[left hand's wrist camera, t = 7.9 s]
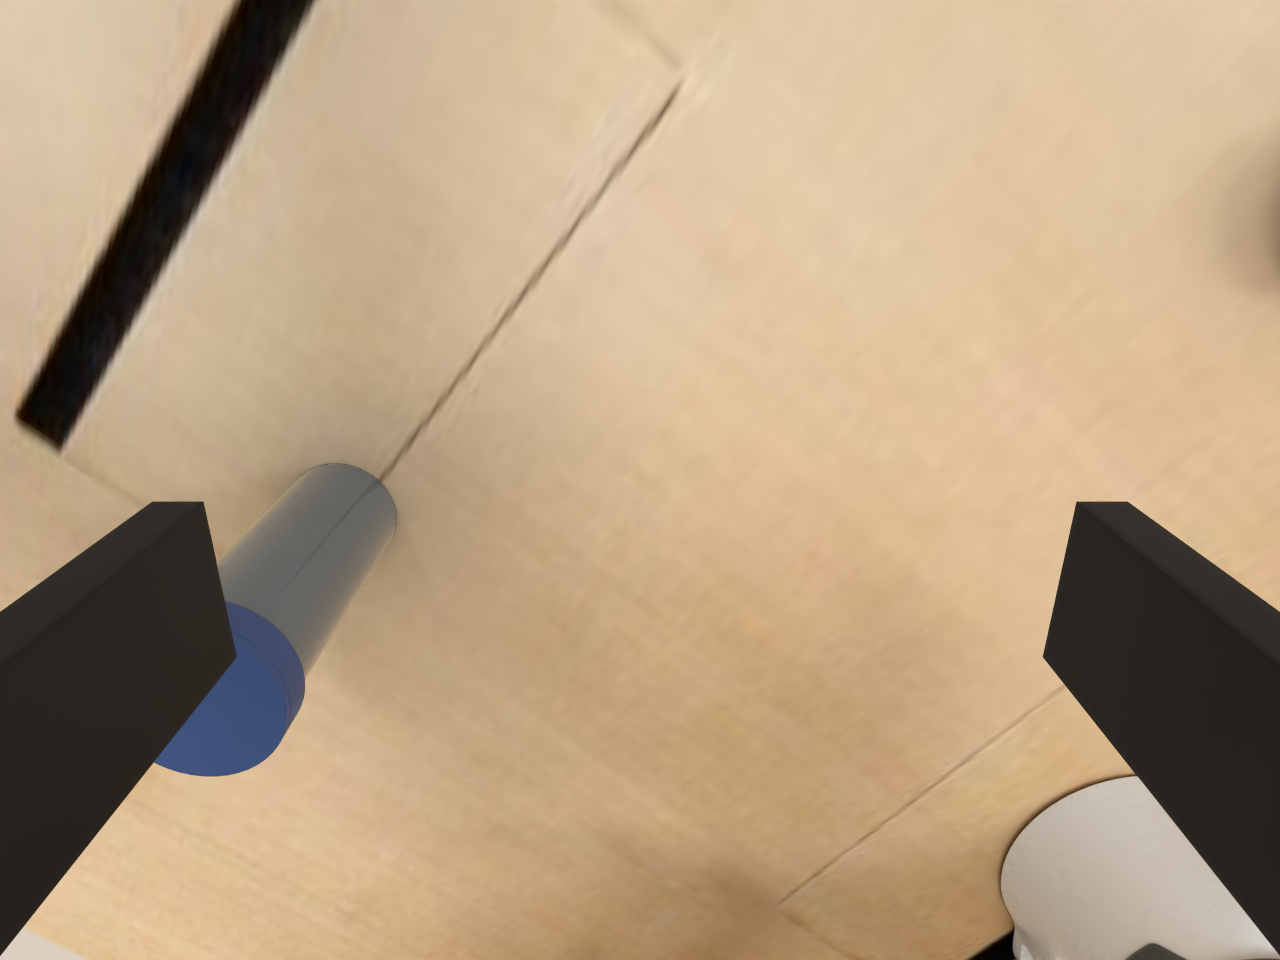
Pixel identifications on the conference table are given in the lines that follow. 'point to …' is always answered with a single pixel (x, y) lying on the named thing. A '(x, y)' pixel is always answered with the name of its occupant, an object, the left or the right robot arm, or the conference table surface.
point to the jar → (311, 554)
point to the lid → (242, 703)
